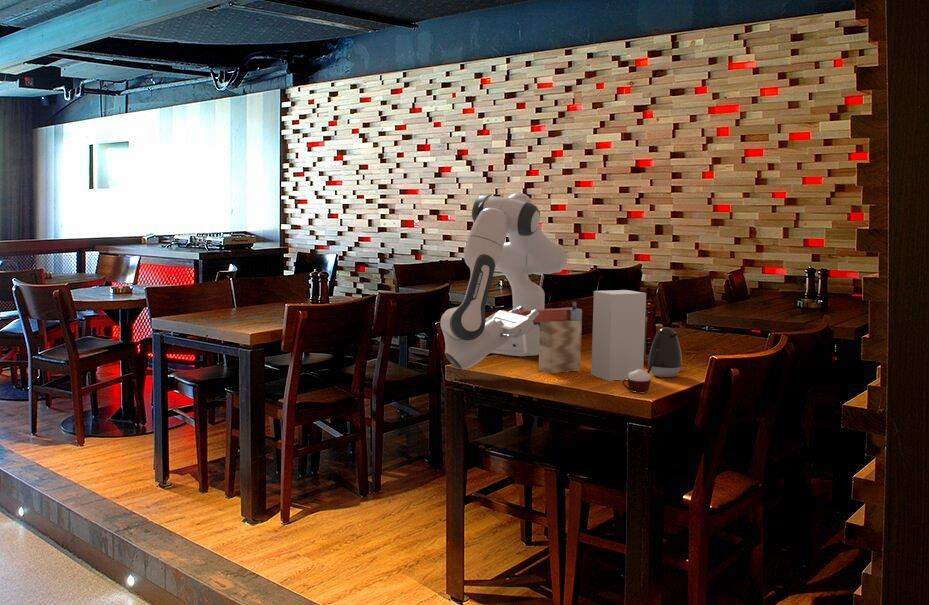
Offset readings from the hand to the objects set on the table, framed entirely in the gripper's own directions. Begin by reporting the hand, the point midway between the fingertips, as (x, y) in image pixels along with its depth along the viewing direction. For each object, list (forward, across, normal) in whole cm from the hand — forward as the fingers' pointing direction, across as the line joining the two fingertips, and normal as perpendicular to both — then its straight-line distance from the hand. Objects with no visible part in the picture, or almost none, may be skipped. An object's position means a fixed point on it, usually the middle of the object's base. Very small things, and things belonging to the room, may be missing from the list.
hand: (529, 309), depth 265 cm
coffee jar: (+28, +7, +39) cm, 48 cm away
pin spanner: (+4, 0, +7) cm, 8 cm away
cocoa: (+4, -35, +26) cm, 44 cm away
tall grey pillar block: (+10, -15, +28) cm, 33 cm away
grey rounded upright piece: (+22, -19, +36) cm, 46 cm away
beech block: (0, 0, +23) cm, 23 cm away
